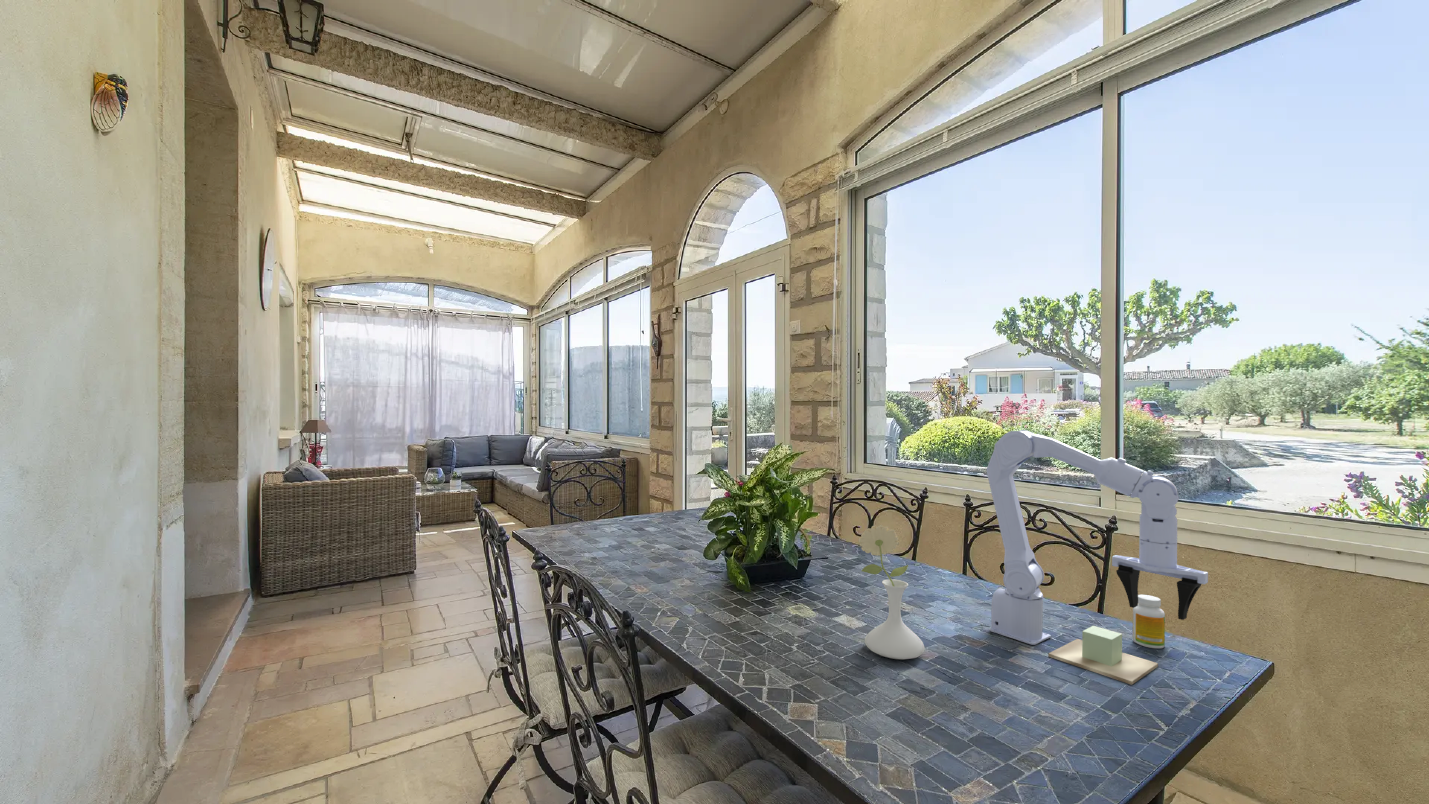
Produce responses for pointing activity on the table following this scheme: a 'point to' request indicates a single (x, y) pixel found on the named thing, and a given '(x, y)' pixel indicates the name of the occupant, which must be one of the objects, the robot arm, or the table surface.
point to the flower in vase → (893, 633)
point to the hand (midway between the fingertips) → (1157, 612)
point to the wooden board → (1123, 671)
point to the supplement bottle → (1149, 622)
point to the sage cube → (1102, 645)
